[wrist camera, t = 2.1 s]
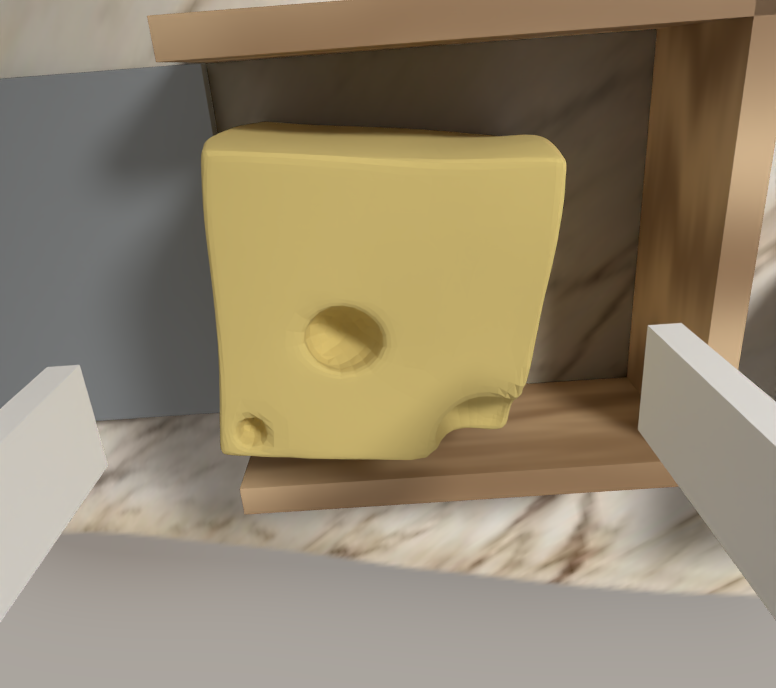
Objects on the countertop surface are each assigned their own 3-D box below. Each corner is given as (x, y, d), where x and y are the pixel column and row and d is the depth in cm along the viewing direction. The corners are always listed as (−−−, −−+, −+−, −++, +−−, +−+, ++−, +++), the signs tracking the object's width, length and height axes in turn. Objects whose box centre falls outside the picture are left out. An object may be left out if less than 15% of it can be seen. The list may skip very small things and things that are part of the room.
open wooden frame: (208, 28, 25) (146, 15, 18) (692, -9, 24) (804, -36, 18) (272, 422, 32) (244, 514, 25) (649, 397, 31) (719, 483, 25)
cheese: (484, 353, 30) (529, 479, 21) (254, 344, 30) (199, 468, 21) (512, 120, 26) (583, 151, 17) (245, 106, 26) (171, 130, 17)
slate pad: (-123, 88, 25) (-138, 89, 25) (205, 63, 25) (200, 63, 24) (-4, 419, 31) (-13, 428, 31) (262, 401, 31) (259, 410, 30)
